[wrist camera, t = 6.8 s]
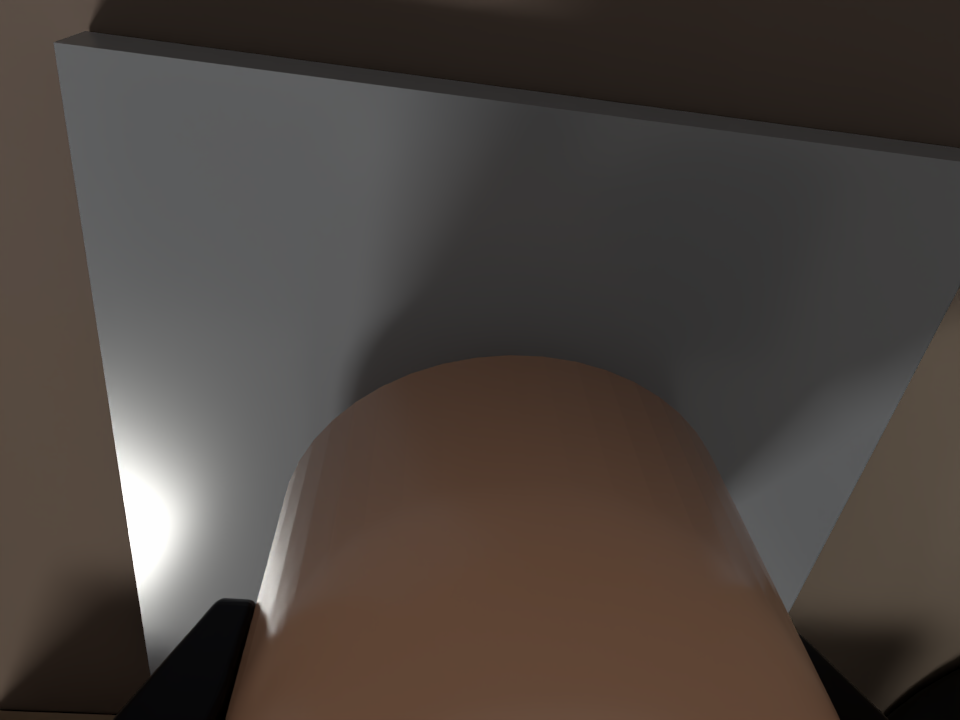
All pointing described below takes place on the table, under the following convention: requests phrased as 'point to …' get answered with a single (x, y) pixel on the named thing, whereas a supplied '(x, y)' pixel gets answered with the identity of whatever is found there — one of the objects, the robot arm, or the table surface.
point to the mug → (933, 701)
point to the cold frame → (50, 716)
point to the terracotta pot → (517, 564)
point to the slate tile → (476, 281)
